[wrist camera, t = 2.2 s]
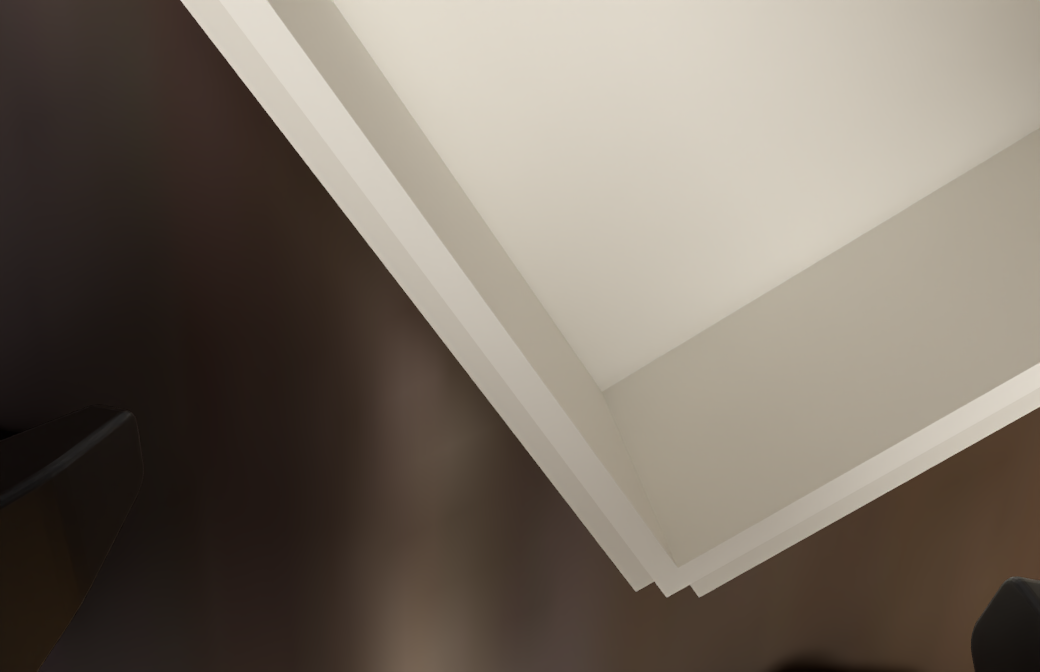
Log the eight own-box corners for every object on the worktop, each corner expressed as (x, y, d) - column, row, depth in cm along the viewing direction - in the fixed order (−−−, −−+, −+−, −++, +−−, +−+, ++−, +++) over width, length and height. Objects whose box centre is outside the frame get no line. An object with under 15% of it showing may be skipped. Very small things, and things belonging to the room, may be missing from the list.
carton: (584, 424, 24) (658, 620, 18) (191, -124, 18) (94, -112, 11) (1188, 63, 22) (1505, 145, 16) (998, -718, 15) (1417, -1098, 9)
